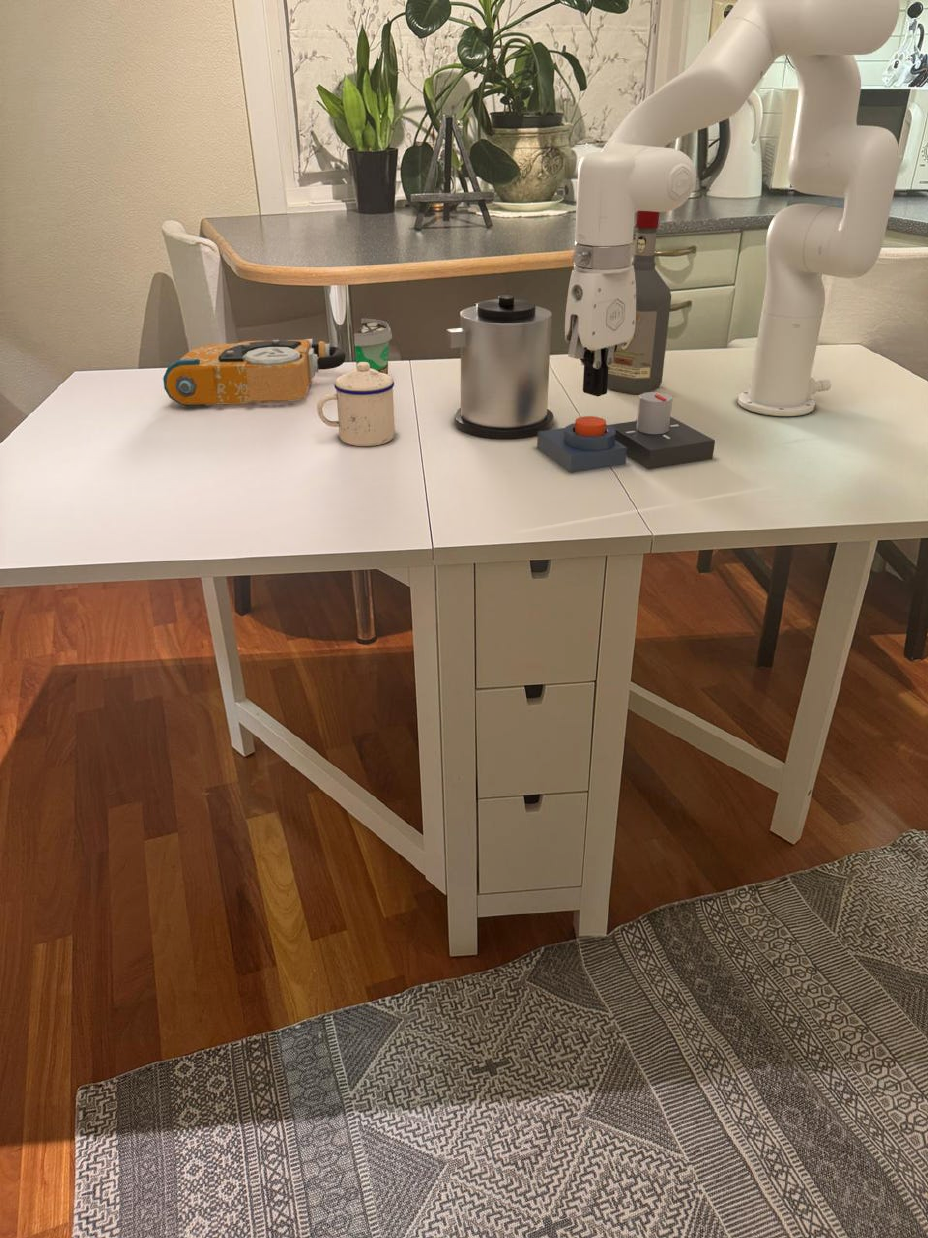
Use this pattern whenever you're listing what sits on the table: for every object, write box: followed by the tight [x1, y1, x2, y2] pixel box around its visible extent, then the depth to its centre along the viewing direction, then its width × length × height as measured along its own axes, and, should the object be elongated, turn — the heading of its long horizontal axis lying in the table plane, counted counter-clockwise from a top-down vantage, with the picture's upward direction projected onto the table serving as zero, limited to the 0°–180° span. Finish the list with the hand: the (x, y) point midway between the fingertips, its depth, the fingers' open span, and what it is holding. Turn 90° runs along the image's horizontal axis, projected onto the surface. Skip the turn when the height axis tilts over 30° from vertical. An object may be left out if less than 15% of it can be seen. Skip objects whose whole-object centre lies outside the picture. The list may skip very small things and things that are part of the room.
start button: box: [574, 415, 607, 436], centre depth 132 cm, size 4×4×2 cm
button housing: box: [536, 422, 627, 474], centre depth 135 cm, size 9×11×4 cm
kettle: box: [446, 294, 554, 441], centre depth 145 cm, size 17×20×20 cm
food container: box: [353, 318, 393, 375], centre depth 167 cm, size 12×6×10 cm, turn 179°
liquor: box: [607, 211, 672, 395], centre depth 158 cm, size 9×9×30 cm
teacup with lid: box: [316, 362, 396, 447], centre depth 140 cm, size 12×9×12 cm
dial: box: [636, 391, 673, 435], centre depth 136 cm, size 5×5×5 cm
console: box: [608, 415, 716, 470], centre depth 137 cm, size 11×12×3 cm
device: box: [162, 338, 347, 408], centre depth 162 cm, size 23×8×30 cm
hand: (594, 392), depth 130 cm, fingers closed
